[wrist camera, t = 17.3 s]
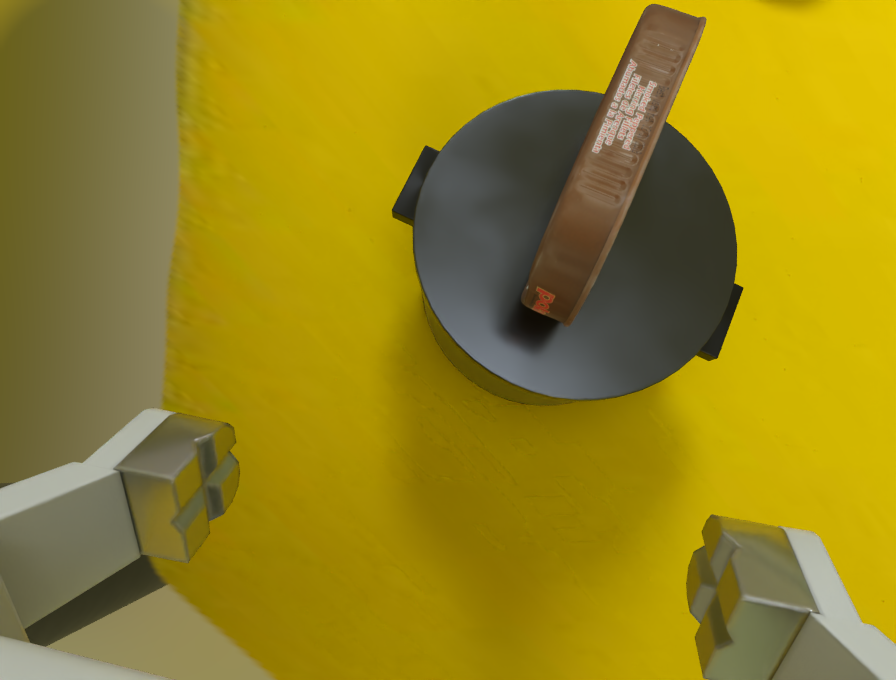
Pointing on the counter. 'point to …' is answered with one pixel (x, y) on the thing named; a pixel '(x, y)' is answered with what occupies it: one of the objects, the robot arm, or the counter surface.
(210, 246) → the counter surface
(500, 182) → the stockpot
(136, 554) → the robot arm
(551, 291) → the tin
